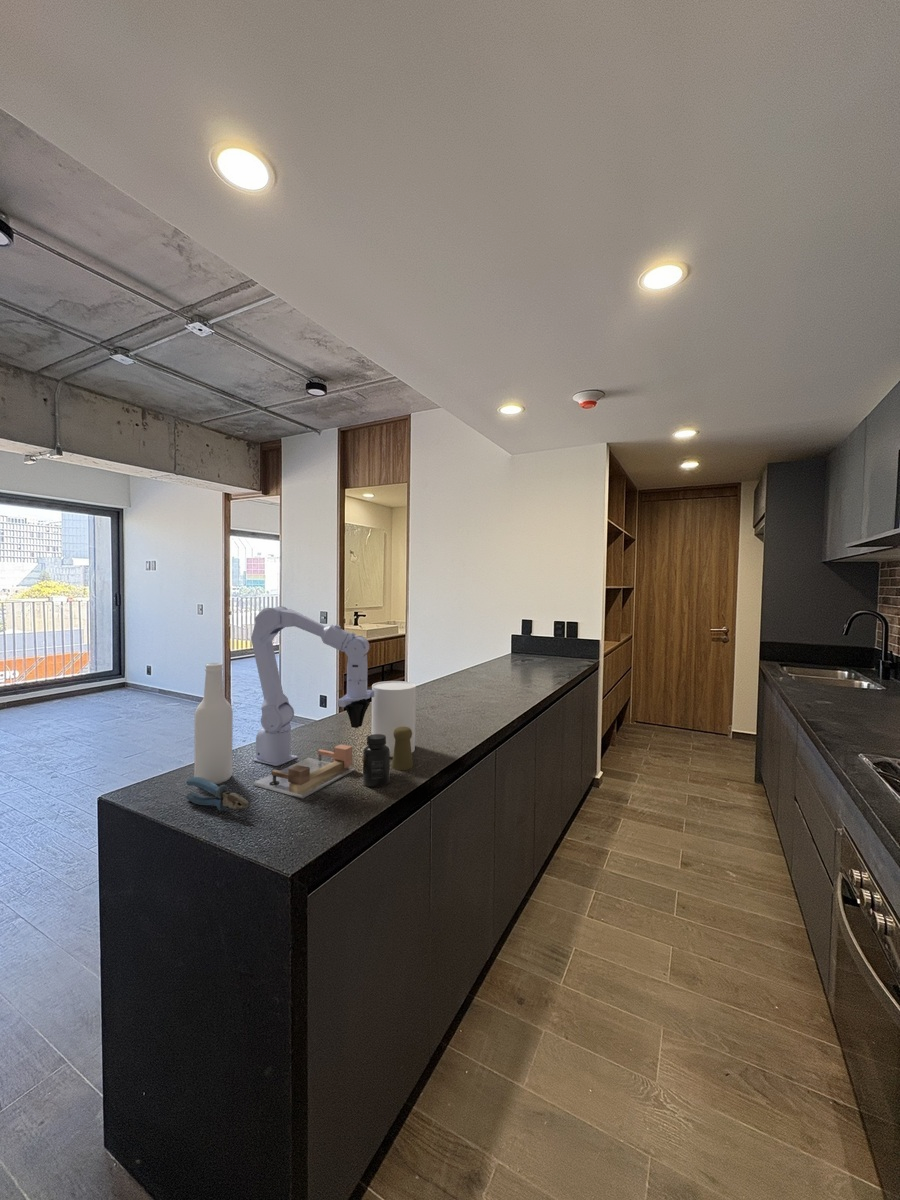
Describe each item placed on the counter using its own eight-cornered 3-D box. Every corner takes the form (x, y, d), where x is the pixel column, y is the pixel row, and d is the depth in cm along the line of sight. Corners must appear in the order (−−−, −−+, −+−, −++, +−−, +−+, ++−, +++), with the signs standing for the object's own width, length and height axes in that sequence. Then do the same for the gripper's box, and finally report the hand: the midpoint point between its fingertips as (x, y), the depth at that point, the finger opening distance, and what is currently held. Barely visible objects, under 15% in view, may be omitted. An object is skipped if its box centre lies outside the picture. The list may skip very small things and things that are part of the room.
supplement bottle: (393, 779, 128) (394, 734, 127) (382, 789, 121) (382, 742, 121) (370, 775, 130) (371, 731, 130) (357, 785, 124) (358, 738, 123)
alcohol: (213, 771, 131) (213, 660, 131) (239, 775, 129) (240, 662, 128) (186, 783, 123) (186, 665, 122) (214, 788, 120) (214, 667, 120)
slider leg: (315, 761, 136) (315, 743, 136) (322, 758, 139) (322, 740, 139) (345, 768, 132) (345, 749, 132) (352, 764, 134) (352, 746, 134)
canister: (423, 747, 154) (424, 684, 153) (396, 759, 142) (397, 691, 142) (390, 739, 161) (391, 679, 160) (361, 750, 150) (362, 686, 149)
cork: (391, 762, 140) (392, 724, 140) (413, 762, 141) (413, 724, 140) (391, 770, 134) (391, 730, 134) (413, 770, 135) (413, 730, 134)
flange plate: (253, 785, 123) (253, 781, 123) (308, 760, 141) (308, 757, 141) (302, 798, 116) (302, 794, 116) (353, 770, 134) (354, 767, 134)
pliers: (251, 818, 106) (251, 791, 106) (242, 822, 104) (242, 794, 104) (193, 797, 115) (193, 772, 115) (184, 801, 113) (184, 776, 113)
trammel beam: (267, 785, 121) (267, 765, 120) (321, 760, 139) (321, 742, 138) (299, 794, 116) (299, 772, 116) (351, 766, 134) (351, 748, 134)
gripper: (353, 685, 130) (352, 735, 131) (383, 676, 144) (382, 722, 144) (332, 682, 134) (331, 731, 134) (363, 674, 147) (362, 719, 147)
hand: (356, 726), depth 139 cm, fingers closed
